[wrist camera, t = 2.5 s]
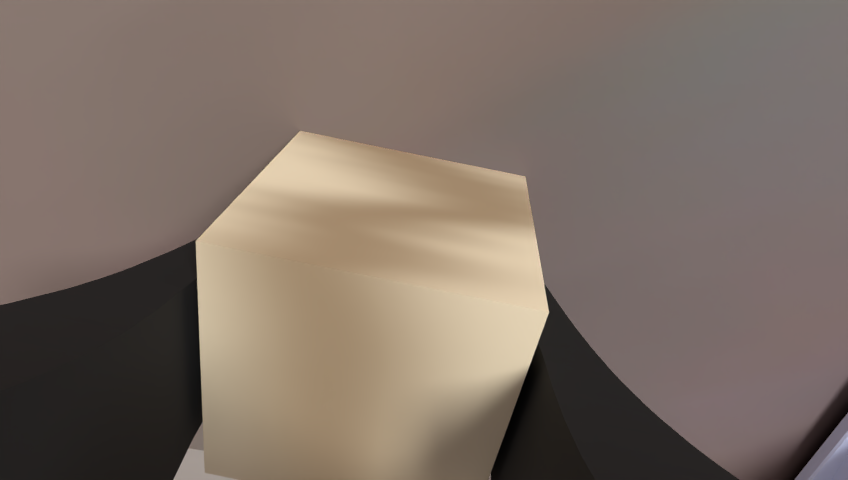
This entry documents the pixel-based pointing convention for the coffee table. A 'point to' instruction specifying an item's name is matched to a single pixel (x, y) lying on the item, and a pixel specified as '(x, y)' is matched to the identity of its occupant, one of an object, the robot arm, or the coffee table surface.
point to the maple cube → (366, 316)
